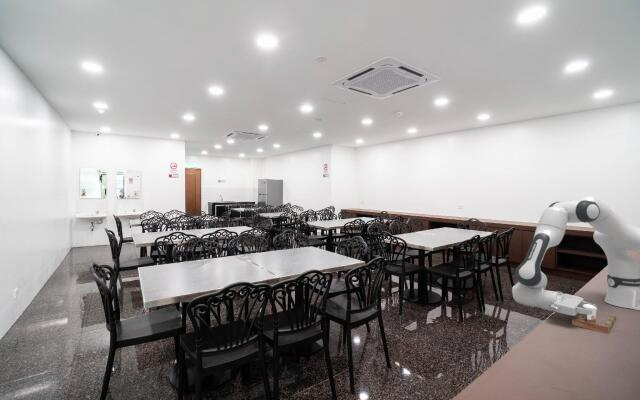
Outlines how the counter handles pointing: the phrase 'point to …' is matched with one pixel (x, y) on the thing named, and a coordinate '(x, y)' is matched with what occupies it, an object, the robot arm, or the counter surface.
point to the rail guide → (593, 326)
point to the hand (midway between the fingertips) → (594, 309)
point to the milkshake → (587, 316)
